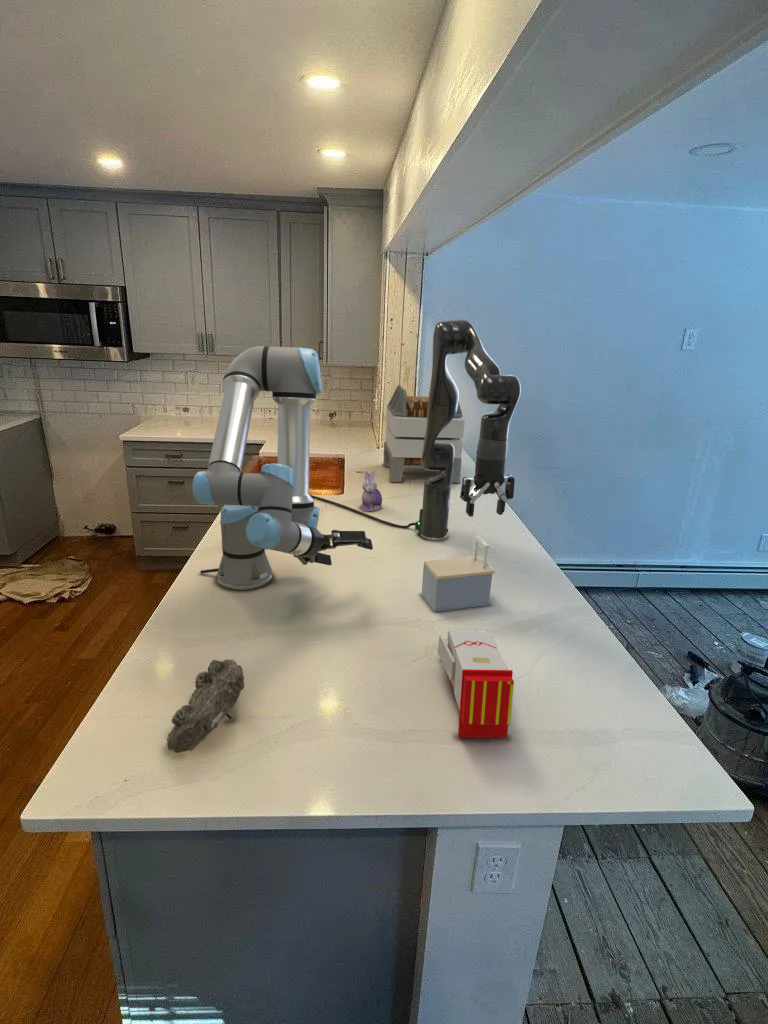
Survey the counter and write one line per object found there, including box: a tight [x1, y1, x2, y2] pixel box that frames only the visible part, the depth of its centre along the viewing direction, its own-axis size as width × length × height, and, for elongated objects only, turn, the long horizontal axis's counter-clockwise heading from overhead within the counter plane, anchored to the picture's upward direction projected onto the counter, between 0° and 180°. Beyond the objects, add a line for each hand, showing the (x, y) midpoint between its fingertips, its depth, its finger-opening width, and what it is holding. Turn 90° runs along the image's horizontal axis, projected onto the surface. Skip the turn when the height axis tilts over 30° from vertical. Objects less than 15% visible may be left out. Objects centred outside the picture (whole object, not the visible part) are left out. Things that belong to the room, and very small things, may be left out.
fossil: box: [166, 658, 245, 754], centre depth 106 cm, size 22×10×15 cm
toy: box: [437, 628, 515, 738], centre depth 117 cm, size 12×13×30 cm
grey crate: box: [383, 384, 465, 484], centre depth 268 cm, size 34×33×41 cm
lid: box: [423, 535, 496, 580], centre depth 152 cm, size 16×10×8 cm, turn 107°
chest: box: [421, 564, 493, 613], centre depth 155 cm, size 16×10×9 cm, turn 107°
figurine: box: [360, 469, 383, 512], centre depth 222 cm, size 9×10×15 cm
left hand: (350, 552), depth 153 cm, fingers open, 13 cm apart
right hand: (484, 514), depth 150 cm, fingers open, 8 cm apart
